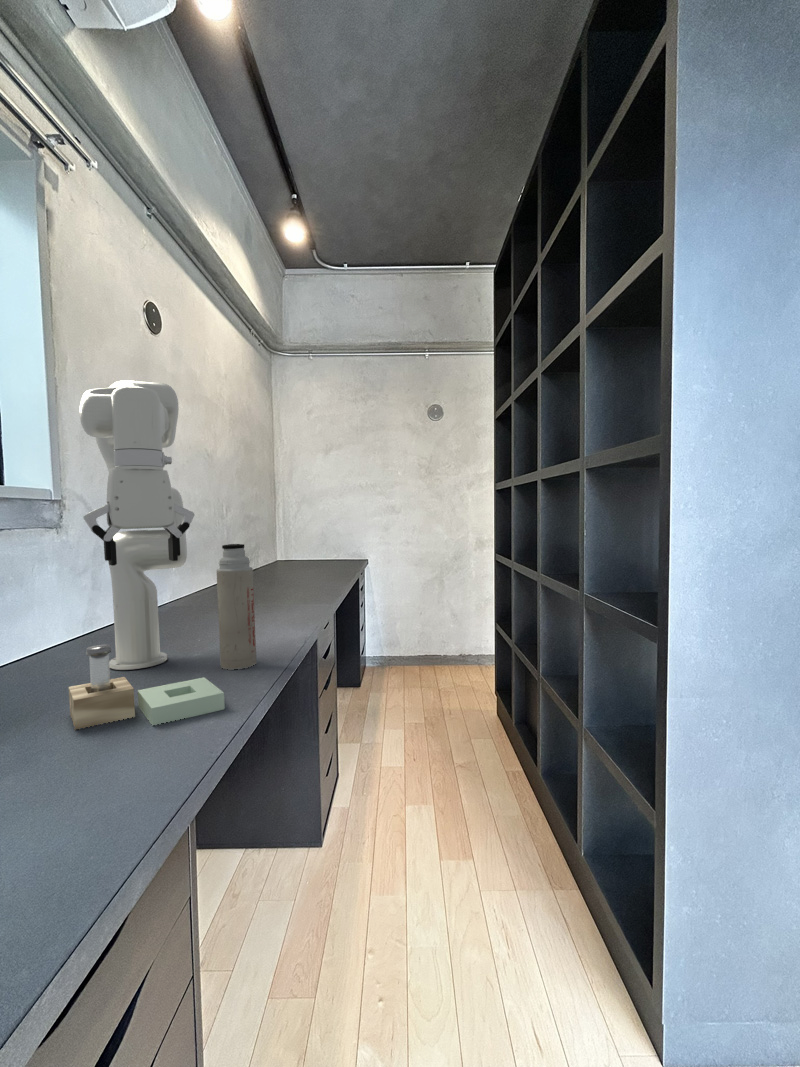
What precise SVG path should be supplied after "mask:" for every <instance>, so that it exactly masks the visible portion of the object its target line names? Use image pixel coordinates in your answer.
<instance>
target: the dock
mask: <svg viewBox="0 0 800 1067" xmlns="http://www.w3.org/2000/svg"><path fill="white" fill-rule="evenodd" d="M137 707H138V708H139V709H140V711H141V712H142V714H143V715H144V717H145V718H146V719H147V721H148V720H149V721H148V722H149V723H150V725H151V724H152V725H151V726H152V727H153V725H155V726H158V725H157V724H159V725H162V724H161V723H164V724H167V723H166V722H168V723H171V722H170V721H172V722H176V721H180V719H181V720H185V719H189V718H193V717H198V716H202V715H206V714H210V713H214V712H218V711H222V710H223V711H224V710H225V709H226V706H225V692H223V690H221V688H218V686H217V685H215V684H213V683H212V682H211V681H210V680H208V679H207V678H206V677H203V676H202V677H199V678H195V679H189V680H184V681H183V680H182V681H178V682H173V683H167V684H163V685H158V686H153V687H147V688H143V689H138V690H137ZM184 718H185V719H184ZM175 720H176V721H175Z"/></svg>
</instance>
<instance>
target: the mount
mask: <svg viewBox="0 0 800 1067" xmlns="http://www.w3.org/2000/svg"><path fill="white" fill-rule="evenodd" d="M110 687H111V689H110V690H105V691H99V692H94V693H91V682H90V683H83V684H79V685H78V684H77V685H71V686H68V699H69V702H68V703H69V716H70V719H71V718H72V719H71V721H73V722H72V724H73V728H74V727H75V728H74V731H77V730H76V729H79V730H81V729H80V728H83V729H86V728H85V727H88V728H91V727H90V726H92V727H95V726H94V725H97V726H99V725H98V724H101V725H104V724H103V723H106V724H109V723H108V722H110V723H114V722H113V721H115V722H119V721H118V720H120V721H123V719H124V720H128V719H127V718H129V719H132V717H133V718H136V709H135V707H136V706H135V691H134V690H135V688H134V687H133V686H132V685H131V683H130V682H129V681H128V680H127V678H126V677H125V676H122V677H117V678H110Z"/></svg>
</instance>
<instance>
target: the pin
mask: <svg viewBox="0 0 800 1067" xmlns="http://www.w3.org/2000/svg"><path fill="white" fill-rule="evenodd" d="M85 649H86V650H85V652H86V653H85V654H86V656H88V658H89V676H90V683H91V693H94V692H99V691H105V690H110V689H111V687H110V679H111V673H110V672H111V671H110V670H111V668H110V667H109V661H110V653H112V645H111V644H95V645H92V646H88V647H87V648H85Z"/></svg>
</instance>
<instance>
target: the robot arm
mask: <svg viewBox="0 0 800 1067" xmlns="http://www.w3.org/2000/svg"><path fill="white" fill-rule="evenodd" d="M179 408H180V407H179V398H178V395H177V393H176V390H175V389H174V388H173V387H172V386H171V385H169V384H167V383H163V382H162V383H161V382H152V381H151V382H149V381H138V380H136V381H135V380H119V381H115V382H114V383H112V384H111V385H110V386H109V387H105V388H104V387H103V388H92V389H88V390H86V391H85V392H84V393H83V394H82V397H81V399H80V404H79V419H80V424H81V428H82V429H83V431H84V432H85V433H86V434H87V435H89V436H90V437H93V438H95V440H96V444H97V447H98V449H99V452H100V454H101V456H102V458H103V460H104V462H105V464H106V468H107V471H108V476H107V484H106V485H107V486H106V504H104V505H102V506H100V507H99V508H95V509H94V510H91V511H89V512H87V513H86V514H84V515H83V520H84V522H85V523H86V524H87V526H88V527H89V529H90V531H91V532H92V533H93V534H94V535H96V536H97V537H98V538H99V539H101V541H103V551H104V553H103V556H104V560H105V562H108V566H109V571H110V572H109V573H110V578H111V579H110V580H111V588H112V603H113V604H112V607H113V623H114V624H113V625H114V626H113V627H114V641H115V642H114V643H115V644H114V645H115V646H114V648H115V657H114V658H112V659H109V667H110V669H112V670H117V671H129V670H139V669H145V668H149V667H154V666H157V665H160V664H161V665H162V664H163V663H165V662H166V661H167V660H168V654H167V653H166V652H164V651H163V652H162V651H161V646H160V626H159V623H160V622H159V606H158V605H159V604H158V602H159V600H158V588H157V586H156V584H155V583H154V582H153V580H152V579H151V578H149V577H148V576H147V574H145V572H146V571H152V570H165V569H167V570H168V569H177V568H180V567H183V566H184V564H185V563H186V561H187V558H188V544H187V535H186V534H187V533H186V532H187V530H188V529H189V528H190V526H191V523H192V521H193V519H194V518H195V512H193V511H191V510H189V509H187V508H186V507H184V501H183V498H182V495H181V493H180V492H179V490H178V489H176V488H175V487H172V484H171V480H170V477H169V472H168V470H166V469H164V468H165V466H167V465H172V464H173V463H172V462H173V459H172V456H167V455H165V452H164V451H163V449H165V448H166V449H167V448H169V447H171V446H172V445H173V444H174V441H175V439H176V434H177V423H178V419H179ZM104 515H106V523H107V526H108V528H107V529H106V530H105V529H103V528H102V527H101V526H100V525H99V523H98V522H97V519H98V518H100V517H102V516H104ZM158 528H159V529H158ZM160 528H163V529H160ZM131 529H132V530H131ZM133 529H134V530H133ZM136 529H137V530H136ZM139 529H140V530H139ZM120 530H123V531H120Z"/></svg>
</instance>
